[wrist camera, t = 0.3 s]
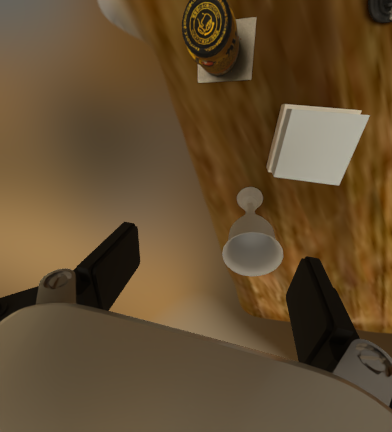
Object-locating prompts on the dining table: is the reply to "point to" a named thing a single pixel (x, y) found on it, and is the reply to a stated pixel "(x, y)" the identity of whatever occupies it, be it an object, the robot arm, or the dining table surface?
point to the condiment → (218, 41)
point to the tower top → (317, 145)
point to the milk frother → (380, 10)
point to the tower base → (299, 107)
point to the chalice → (252, 239)
